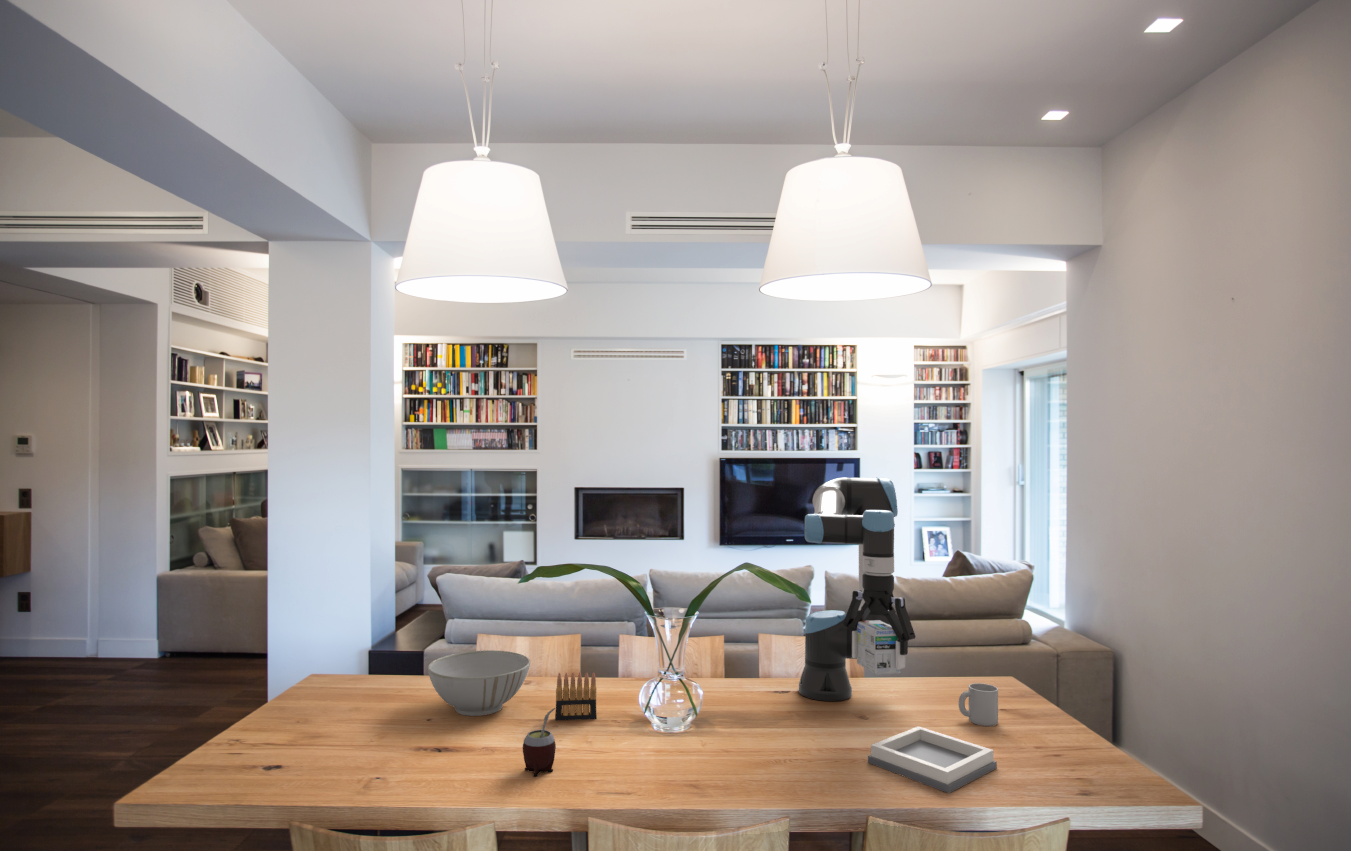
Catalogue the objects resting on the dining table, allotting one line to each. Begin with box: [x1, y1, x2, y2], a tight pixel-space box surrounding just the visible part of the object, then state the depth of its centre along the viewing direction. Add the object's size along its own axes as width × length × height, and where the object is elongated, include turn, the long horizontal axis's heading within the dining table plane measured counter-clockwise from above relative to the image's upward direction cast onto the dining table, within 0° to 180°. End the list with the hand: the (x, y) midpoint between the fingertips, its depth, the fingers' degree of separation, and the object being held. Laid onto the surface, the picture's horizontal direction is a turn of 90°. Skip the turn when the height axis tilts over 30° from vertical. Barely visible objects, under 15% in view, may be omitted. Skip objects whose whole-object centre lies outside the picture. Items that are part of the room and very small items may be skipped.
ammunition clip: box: [554, 671, 598, 722], centre depth 202 cm, size 11×2×12 cm, turn 98°
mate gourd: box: [522, 707, 557, 778], centre depth 169 cm, size 8×8×15 cm
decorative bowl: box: [427, 649, 531, 717], centre depth 209 cm, size 27×27×12 cm
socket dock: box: [867, 725, 998, 794], centre depth 174 cm, size 20×20×4 cm
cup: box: [958, 682, 999, 727], centre depth 203 cm, size 7×10×9 cm
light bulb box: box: [856, 620, 901, 675], centre depth 190 cm, size 11×7×11 cm, turn 12°
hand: (877, 662), depth 189 cm, fingers closed on light bulb box, 12 cm apart
